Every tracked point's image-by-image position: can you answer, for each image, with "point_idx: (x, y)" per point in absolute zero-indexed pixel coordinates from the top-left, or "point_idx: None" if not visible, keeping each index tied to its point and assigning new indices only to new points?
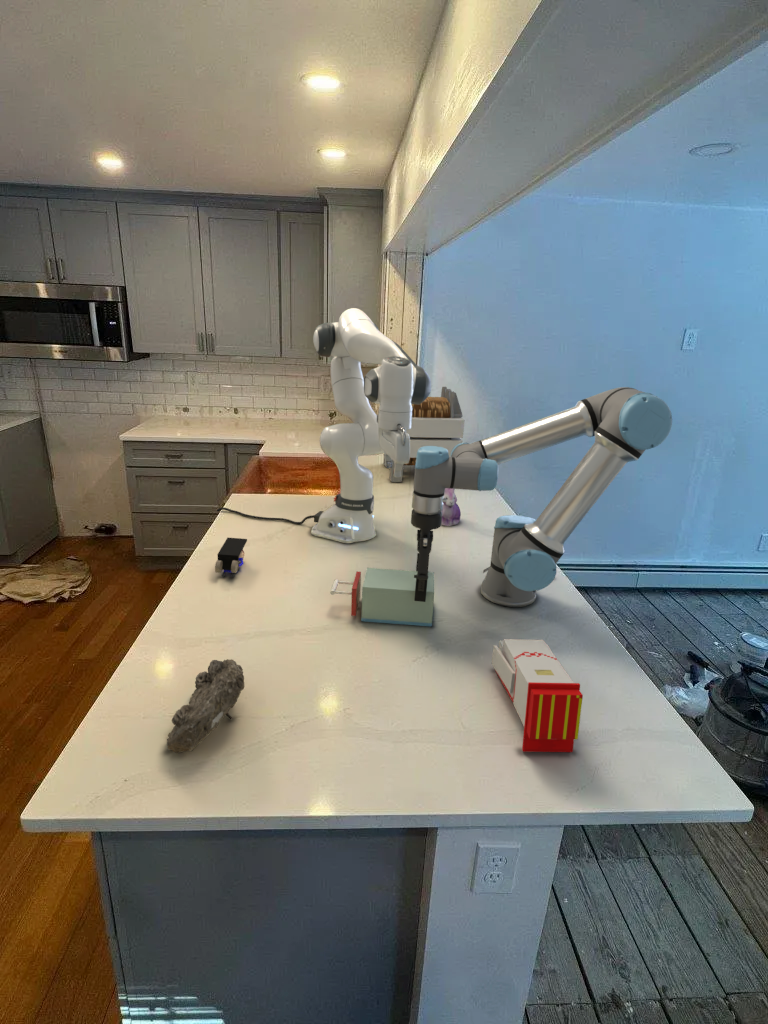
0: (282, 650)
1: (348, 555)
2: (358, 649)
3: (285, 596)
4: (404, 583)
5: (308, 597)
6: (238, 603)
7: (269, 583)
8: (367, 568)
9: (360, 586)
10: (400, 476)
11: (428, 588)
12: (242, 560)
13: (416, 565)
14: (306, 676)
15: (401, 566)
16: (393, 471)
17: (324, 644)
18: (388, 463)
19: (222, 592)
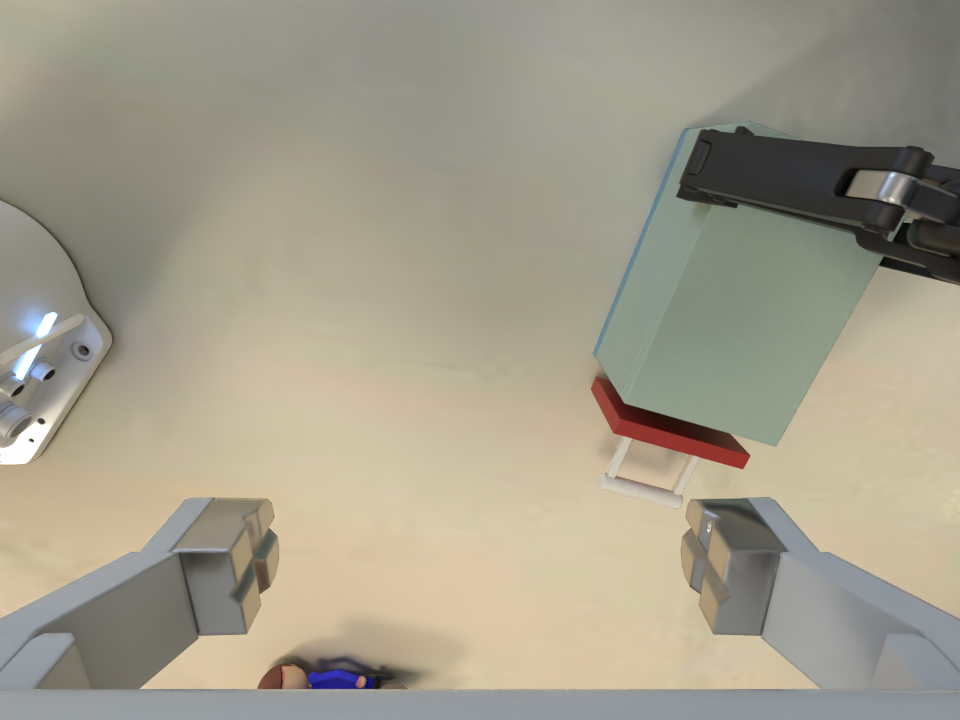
0: None
1: (231, 352)
2: (849, 420)
3: (522, 562)
4: (805, 290)
5: (540, 508)
6: (539, 658)
7: (436, 595)
8: (632, 403)
9: (609, 394)
10: (771, 501)
11: None
12: (326, 676)
13: (695, 199)
14: (902, 540)
15: (341, 158)
16: (711, 612)
17: (794, 494)
18: (250, 589)
19: None
